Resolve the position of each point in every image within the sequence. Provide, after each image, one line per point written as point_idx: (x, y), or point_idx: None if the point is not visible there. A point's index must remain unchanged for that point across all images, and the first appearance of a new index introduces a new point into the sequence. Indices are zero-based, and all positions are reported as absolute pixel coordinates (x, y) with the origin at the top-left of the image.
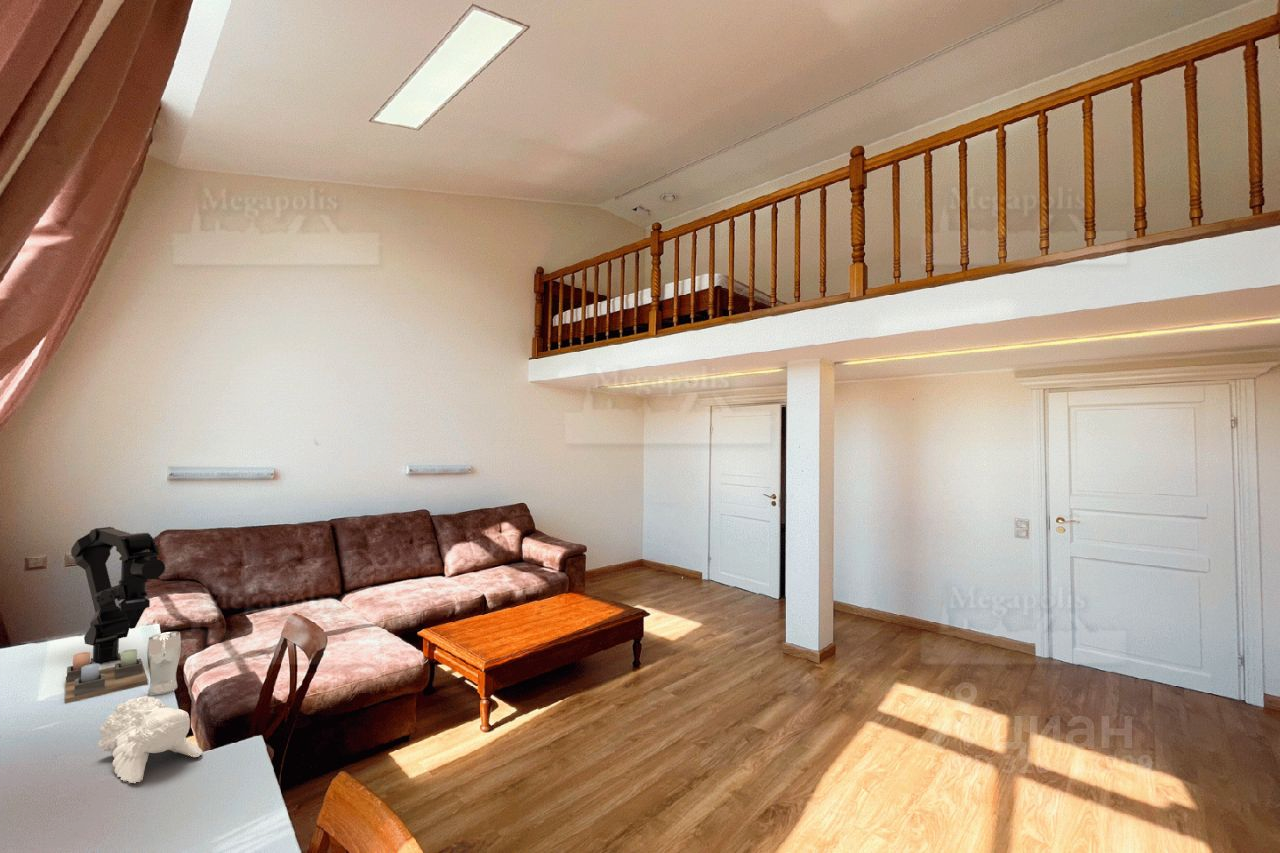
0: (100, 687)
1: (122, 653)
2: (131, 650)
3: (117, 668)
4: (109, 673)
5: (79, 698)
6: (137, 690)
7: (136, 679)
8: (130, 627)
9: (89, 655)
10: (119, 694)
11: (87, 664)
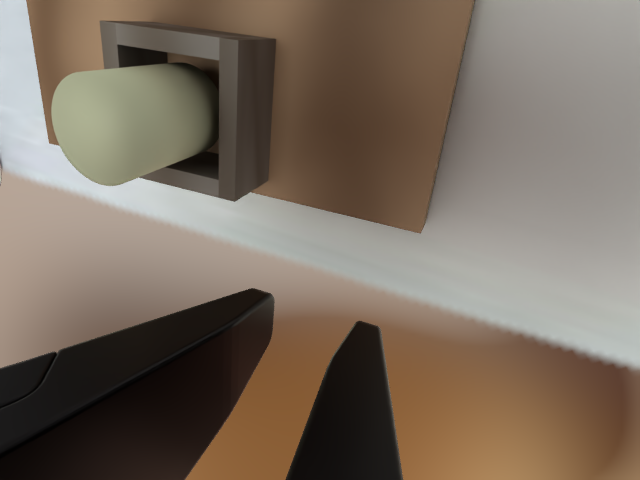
0: None
1: (71, 78)
2: (113, 152)
3: (113, 33)
4: (306, 13)
5: None
6: (16, 84)
7: None
8: (237, 299)
9: None
10: (5, 9)
11: None
